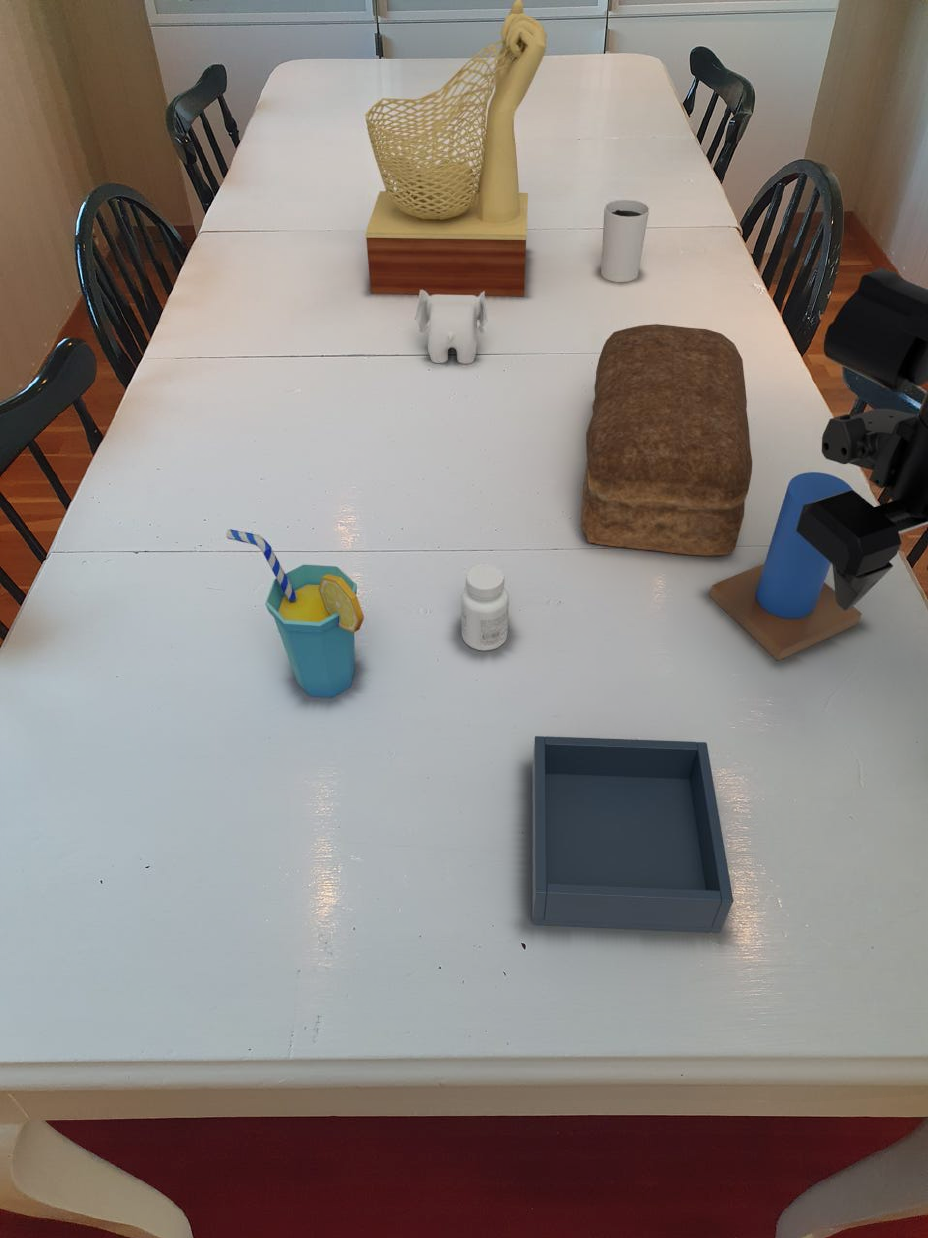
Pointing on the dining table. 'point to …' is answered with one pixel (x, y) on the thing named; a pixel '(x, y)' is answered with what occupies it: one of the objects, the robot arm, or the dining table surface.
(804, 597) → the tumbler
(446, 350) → the elephant figurine
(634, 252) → the white cylindrical pot
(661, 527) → the bread
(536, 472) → the dining table surface
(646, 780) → the tray
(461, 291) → the net sculpture trophy
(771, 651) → the trivet
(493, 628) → the pill bottle
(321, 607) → the cup
